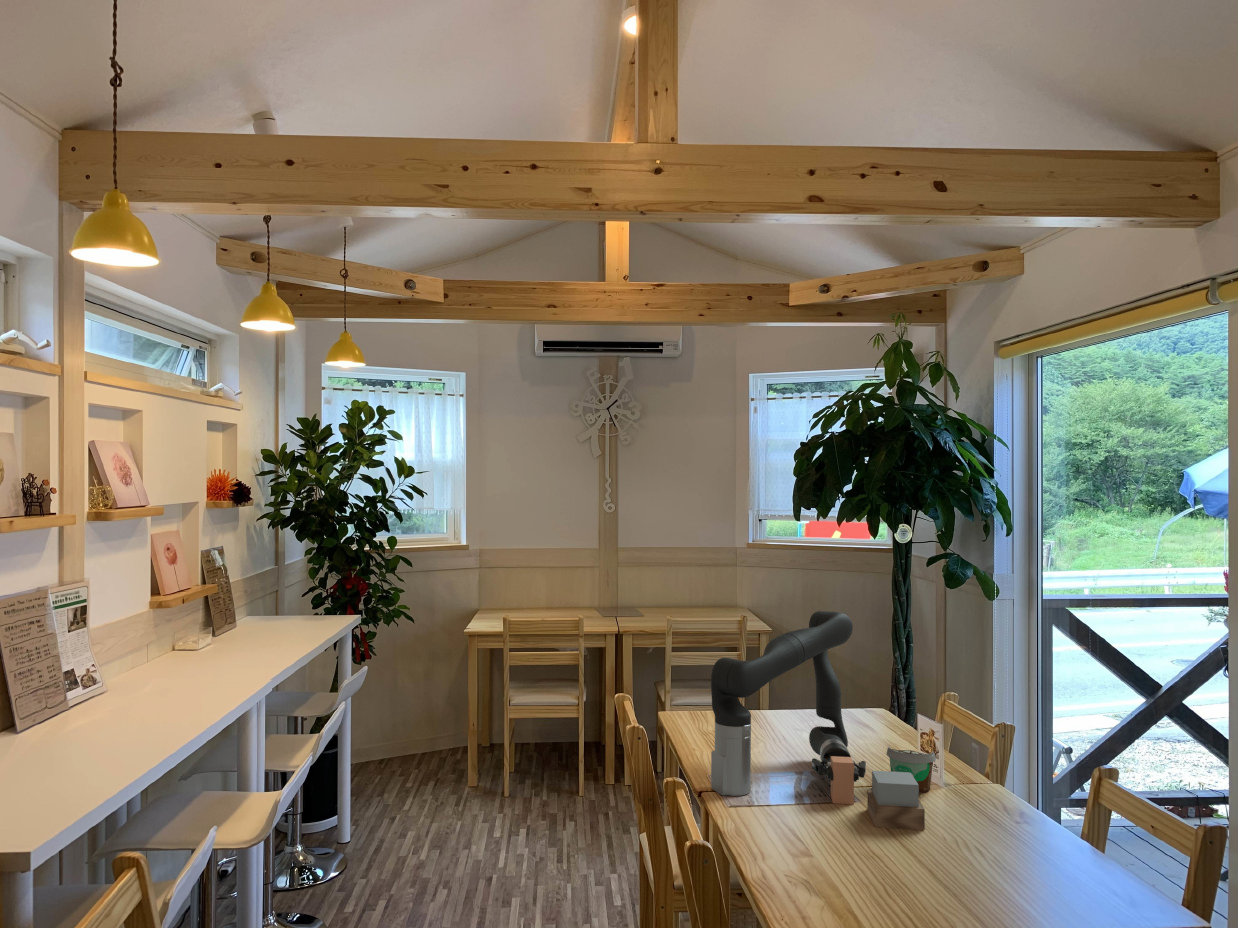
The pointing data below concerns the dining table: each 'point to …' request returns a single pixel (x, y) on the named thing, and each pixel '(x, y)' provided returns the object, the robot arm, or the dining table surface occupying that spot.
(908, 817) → the walnut base slab
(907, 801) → the slate top slab
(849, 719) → the dining table surface
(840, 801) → the terracotta pillar
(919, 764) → the food container
